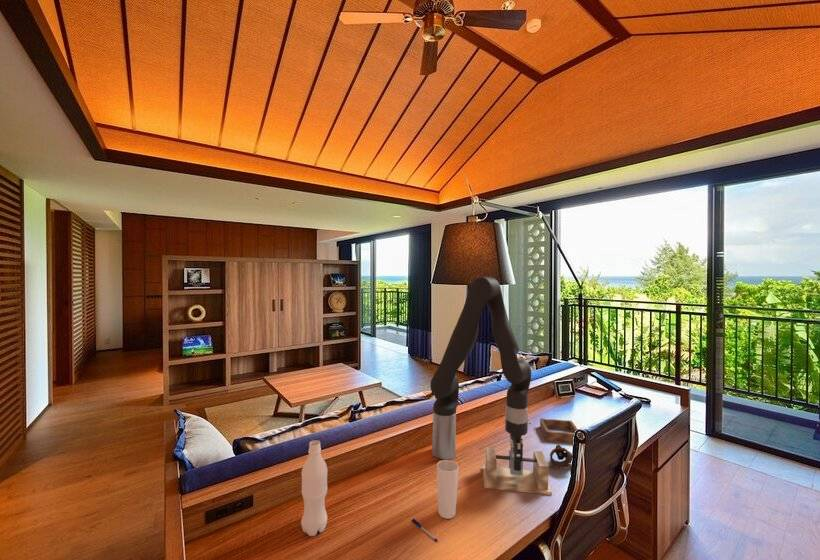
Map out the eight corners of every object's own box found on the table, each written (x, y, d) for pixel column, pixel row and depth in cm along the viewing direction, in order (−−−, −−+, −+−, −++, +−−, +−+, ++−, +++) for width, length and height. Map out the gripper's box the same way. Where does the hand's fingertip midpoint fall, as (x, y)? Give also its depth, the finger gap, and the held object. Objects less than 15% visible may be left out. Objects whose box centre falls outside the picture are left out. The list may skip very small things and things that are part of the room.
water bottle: (329, 520, 104) (330, 436, 103) (324, 538, 96) (324, 449, 96) (305, 520, 103) (305, 436, 103) (298, 539, 96) (298, 449, 95)
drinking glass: (443, 503, 112) (444, 456, 111) (462, 512, 108) (463, 464, 107) (431, 514, 107) (432, 466, 106) (450, 525, 102) (451, 474, 102)
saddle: (510, 474, 122) (511, 456, 122) (508, 466, 127) (509, 449, 127) (522, 475, 121) (522, 457, 121) (520, 467, 126) (520, 450, 126)
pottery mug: (584, 475, 129) (576, 459, 127) (559, 484, 130) (551, 468, 128) (570, 451, 140) (563, 435, 138) (547, 459, 142) (540, 444, 140)
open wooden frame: (546, 440, 154) (546, 431, 154) (539, 426, 168) (539, 418, 168) (581, 443, 152) (581, 434, 152) (571, 429, 166) (571, 420, 166)
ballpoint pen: (411, 521, 104) (411, 518, 104) (413, 520, 104) (413, 517, 104) (436, 542, 96) (436, 539, 96) (438, 541, 96) (438, 537, 96)
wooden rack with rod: (484, 487, 120) (484, 462, 120) (482, 468, 132) (483, 444, 132) (551, 495, 117) (552, 468, 116) (543, 474, 128) (544, 450, 128)
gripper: (503, 409, 131) (502, 452, 132) (507, 426, 117) (506, 473, 118) (524, 411, 130) (523, 454, 131) (531, 428, 116) (530, 476, 116)
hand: (515, 463), depth 124 cm, fingers open, 8 cm apart
